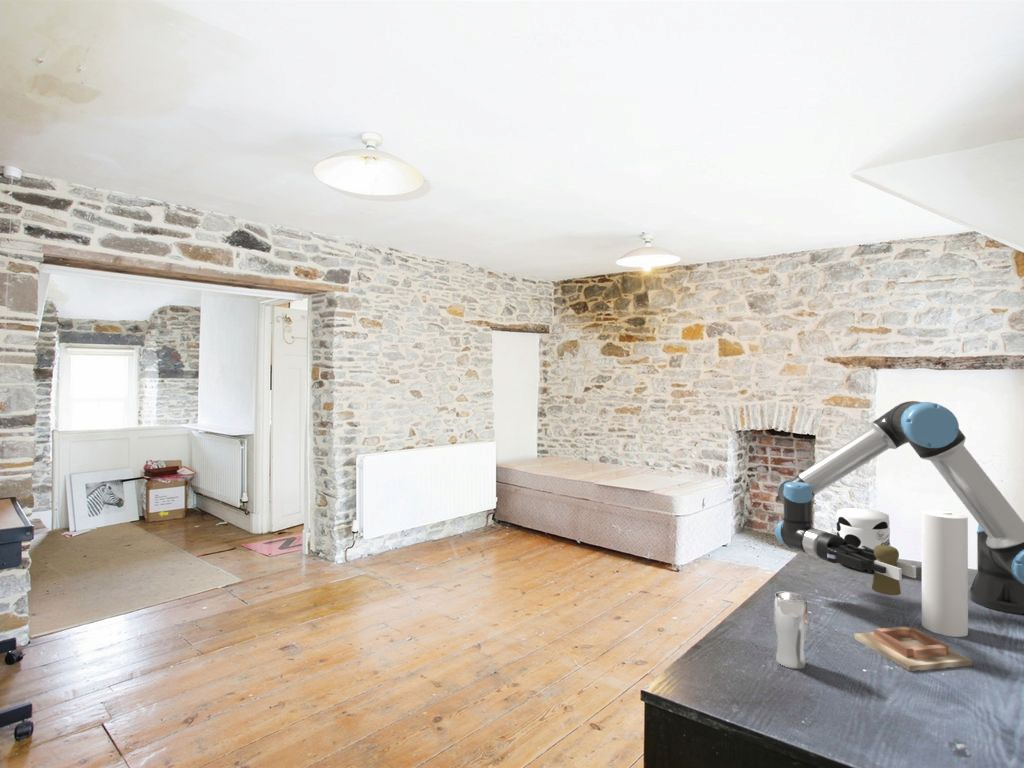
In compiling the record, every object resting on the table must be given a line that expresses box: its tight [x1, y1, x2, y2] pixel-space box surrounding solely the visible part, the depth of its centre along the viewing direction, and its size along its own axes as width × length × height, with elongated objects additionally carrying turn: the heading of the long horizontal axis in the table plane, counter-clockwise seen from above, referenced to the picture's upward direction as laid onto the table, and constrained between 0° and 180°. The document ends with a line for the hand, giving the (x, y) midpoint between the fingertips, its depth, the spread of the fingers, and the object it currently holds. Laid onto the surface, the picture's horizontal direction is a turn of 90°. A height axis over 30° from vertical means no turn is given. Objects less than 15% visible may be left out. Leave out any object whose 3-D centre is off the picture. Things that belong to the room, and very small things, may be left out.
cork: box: [871, 545, 902, 596], centre depth 140 cm, size 6×6×11 cm
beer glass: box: [773, 590, 809, 670], centre depth 128 cm, size 7×7×15 cm
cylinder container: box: [921, 509, 969, 638], centre depth 145 cm, size 9×9×30 cm
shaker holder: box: [853, 625, 973, 672], centre depth 133 cm, size 16×16×3 cm
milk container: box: [835, 507, 892, 550], centre depth 194 cm, size 17×17×18 cm
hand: (907, 573), depth 135 cm, fingers closed on cork, 4 cm apart
